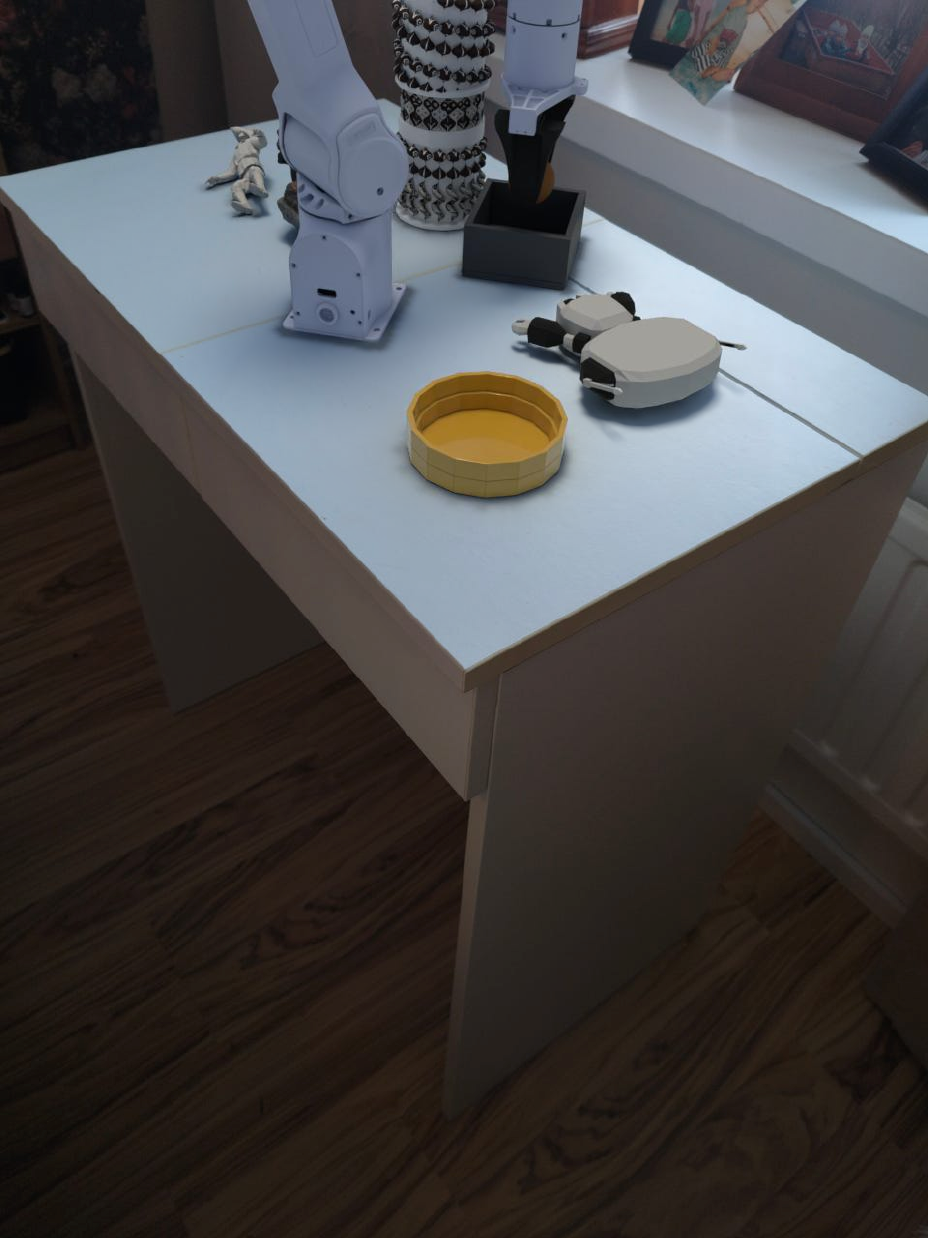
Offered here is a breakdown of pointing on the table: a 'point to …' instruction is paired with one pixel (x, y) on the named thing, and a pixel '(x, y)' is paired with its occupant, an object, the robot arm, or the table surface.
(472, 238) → the bin
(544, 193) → the teddy
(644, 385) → the robot toy
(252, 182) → the soldier figure
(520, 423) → the bowl
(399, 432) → the table surface
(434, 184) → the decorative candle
